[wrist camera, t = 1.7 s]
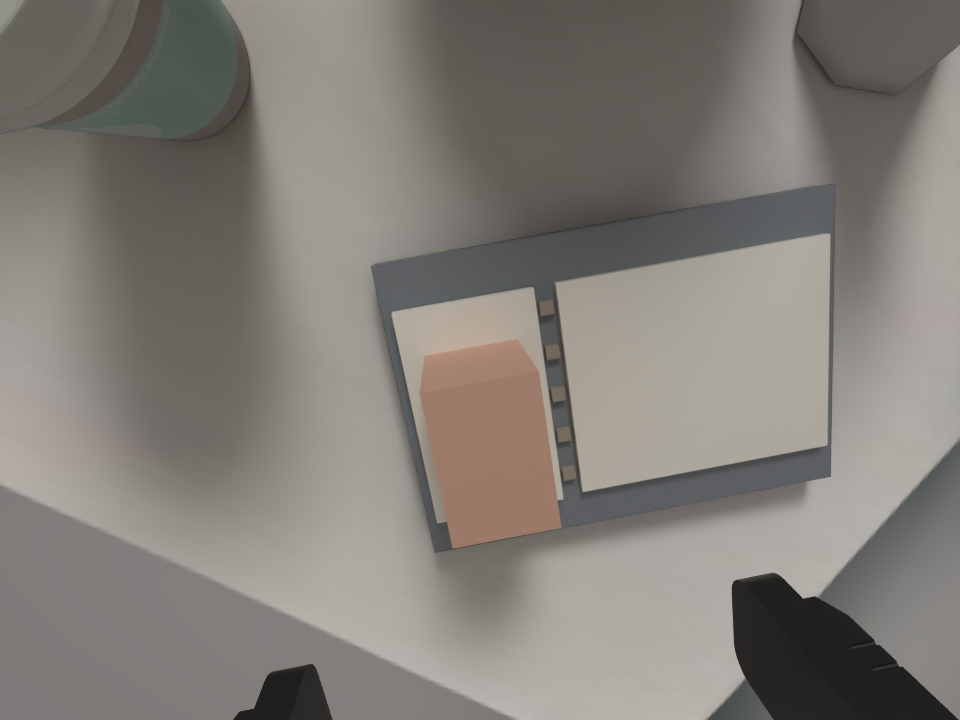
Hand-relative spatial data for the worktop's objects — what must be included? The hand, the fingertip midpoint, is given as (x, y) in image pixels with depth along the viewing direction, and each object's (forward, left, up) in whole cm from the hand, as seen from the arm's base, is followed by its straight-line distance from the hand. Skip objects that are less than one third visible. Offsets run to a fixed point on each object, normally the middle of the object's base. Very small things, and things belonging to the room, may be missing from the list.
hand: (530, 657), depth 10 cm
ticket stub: (0, 0, -14) cm, 14 cm away
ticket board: (-7, 0, -15) cm, 17 cm away
